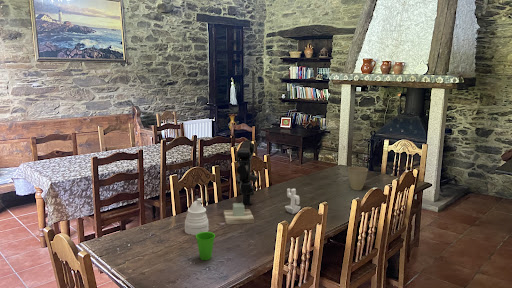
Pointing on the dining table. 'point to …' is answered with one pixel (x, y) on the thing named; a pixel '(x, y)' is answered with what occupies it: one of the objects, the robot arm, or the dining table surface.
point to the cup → (205, 244)
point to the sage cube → (238, 209)
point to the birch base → (238, 217)
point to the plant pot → (357, 177)
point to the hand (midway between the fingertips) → (243, 195)
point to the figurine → (293, 201)
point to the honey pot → (196, 219)
